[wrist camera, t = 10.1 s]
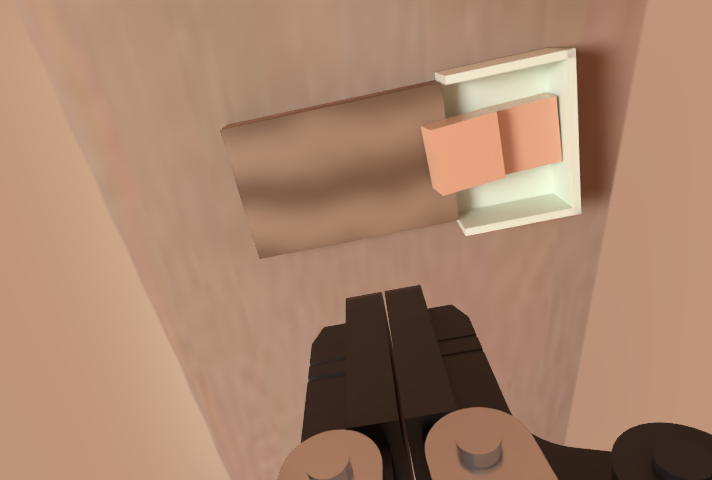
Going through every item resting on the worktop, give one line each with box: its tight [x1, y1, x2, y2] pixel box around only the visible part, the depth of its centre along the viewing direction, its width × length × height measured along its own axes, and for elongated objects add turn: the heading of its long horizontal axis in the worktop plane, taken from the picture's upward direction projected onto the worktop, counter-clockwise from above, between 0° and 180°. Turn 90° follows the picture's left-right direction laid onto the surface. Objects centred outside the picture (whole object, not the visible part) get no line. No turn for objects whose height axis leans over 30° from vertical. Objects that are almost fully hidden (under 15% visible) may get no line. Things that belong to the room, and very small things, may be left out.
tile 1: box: [421, 108, 506, 196], centre depth 37 cm, size 5×5×2 cm
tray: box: [434, 47, 581, 236], centre depth 38 cm, size 12×9×5 cm
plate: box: [220, 80, 459, 259], centre depth 40 cm, size 11×17×2 cm, turn 102°
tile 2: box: [483, 93, 562, 175], centre depth 38 cm, size 5×5×2 cm
